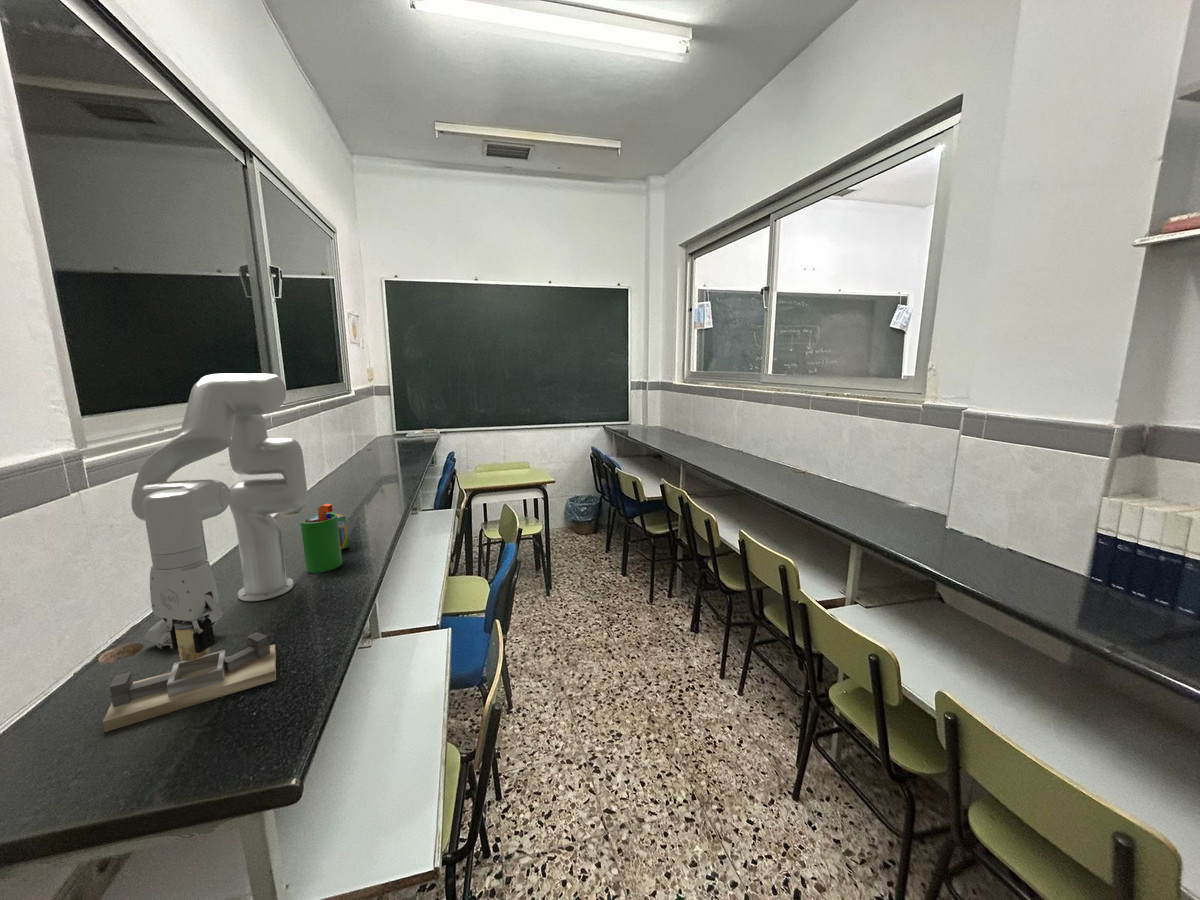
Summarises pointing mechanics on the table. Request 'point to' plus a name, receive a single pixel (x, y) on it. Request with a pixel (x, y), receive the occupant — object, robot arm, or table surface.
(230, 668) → the stand
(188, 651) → the gold cylinder
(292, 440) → the robot arm
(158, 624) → the skull
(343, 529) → the chalk box
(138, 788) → the table surface
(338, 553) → the green cylindrical cup
